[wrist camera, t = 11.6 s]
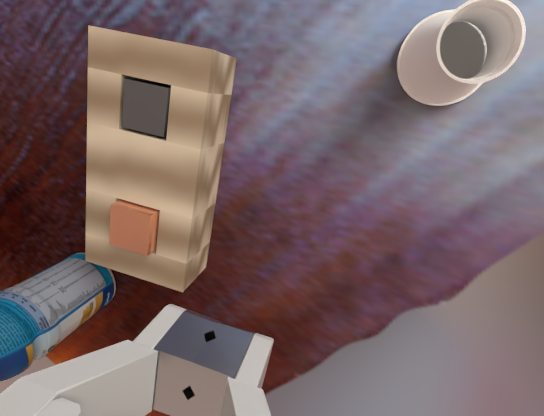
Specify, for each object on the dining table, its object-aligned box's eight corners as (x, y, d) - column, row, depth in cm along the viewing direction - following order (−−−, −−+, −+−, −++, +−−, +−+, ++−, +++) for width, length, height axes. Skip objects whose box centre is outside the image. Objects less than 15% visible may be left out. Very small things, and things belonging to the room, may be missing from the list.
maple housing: (130, 37, 36) (88, 25, 30) (236, 58, 34) (213, 49, 28) (120, 240, 44) (85, 260, 38) (205, 267, 42) (182, 292, 36)
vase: (507, 27, 28) (581, -11, 19) (463, 116, 31) (510, 121, 22) (418, 2, 29) (447, -46, 20) (383, 91, 32) (394, 85, 22)
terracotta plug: (143, 191, 39) (110, 204, 34) (178, 200, 38) (150, 215, 33) (140, 226, 40) (109, 243, 35) (174, 236, 40) (147, 255, 35)
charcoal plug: (157, 82, 36) (124, 78, 31) (195, 90, 35) (167, 88, 30) (153, 123, 38) (121, 126, 32) (190, 132, 37) (163, 137, 32)
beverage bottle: (112, 251, 45) (-63, 356, 26) (124, 307, 47) (-29, 441, 28) (59, 248, 47) (-138, 344, 28) (73, 303, 49) (-101, 424, 30)
